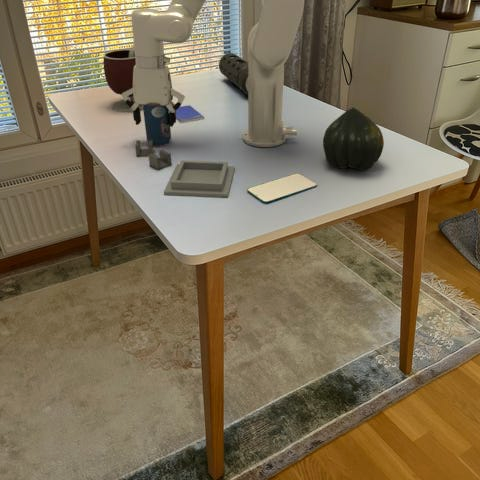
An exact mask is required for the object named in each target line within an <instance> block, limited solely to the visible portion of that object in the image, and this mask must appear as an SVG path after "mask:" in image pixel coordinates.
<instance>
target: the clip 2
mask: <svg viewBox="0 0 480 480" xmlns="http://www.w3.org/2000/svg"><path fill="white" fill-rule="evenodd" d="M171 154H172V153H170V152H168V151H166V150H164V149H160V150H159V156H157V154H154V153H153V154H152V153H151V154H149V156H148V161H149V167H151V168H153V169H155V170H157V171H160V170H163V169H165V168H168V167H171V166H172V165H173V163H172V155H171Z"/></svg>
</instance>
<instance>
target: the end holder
mask: <svg viewBox="0 0 480 480" xmlns="http://www.w3.org/2000/svg"><path fill="white" fill-rule="evenodd" d="M235 167H236V166H234V165H229V162H228V161H210V160H209V161H207V160H206V161H205V160H180V162H179V163H177V164H176V166H175V167H174V170H173V172H172V174H171V176H170V178H169V180H168V181H167V185H166V186H165V189H164V191H163V194H164V196H183V197H184V196H185V197H186V196H187V197H203V198H204V197H205V198H229V193H230V189H231V185H232V182H233V177H234V172H235V169H236V168H235Z"/></svg>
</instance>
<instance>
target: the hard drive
mask: <svg viewBox="0 0 480 480" xmlns="http://www.w3.org/2000/svg"><path fill="white" fill-rule="evenodd" d="M169 112H170V110H169ZM203 120H205V116H204V115H202V114H201V113H200V112H199V111H198V110H197V109H195V108H194V107H193V106H191V105H189V104H188V105H181V106H180V107H179V108H178V109H177V110H176V122H178V123H180V124H184V123H190V122H197V121H203Z"/></svg>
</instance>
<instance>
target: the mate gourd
mask: <svg viewBox="0 0 480 480" xmlns="http://www.w3.org/2000/svg"><path fill="white" fill-rule="evenodd" d="M102 62H103V73H104V77H105V79H106V82H107V83H106V84H107V85H108V87H109V89H110V90H111V91H113V93H114V94H116V95H120V96H122V95H121V94H122V93H123V92H125V91H127V90H129V89H130V88H132V87H133V70H134V66H135V65H136V61H135V50H134V44H133V45H132V46H131V47H130V49H117V50H110V51H107V52H105V53H104V54H103V61H102ZM129 98H130V99H131V100H132V101H133V102H134V103H135V101H134V97H133V93H132V94H130V95H129ZM111 106H112V107H111V108H112V110H114V111H116V112H119V111H120V113H133V111H132V110H131V108H130V107H129V106H128V105H127V104H126V102H125V100H124V99H119V100H117V101H115V102H113V103H112V105H111ZM143 107H144V105H140V104H139V106H138V108H140V112H141V111H143Z"/></svg>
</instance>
